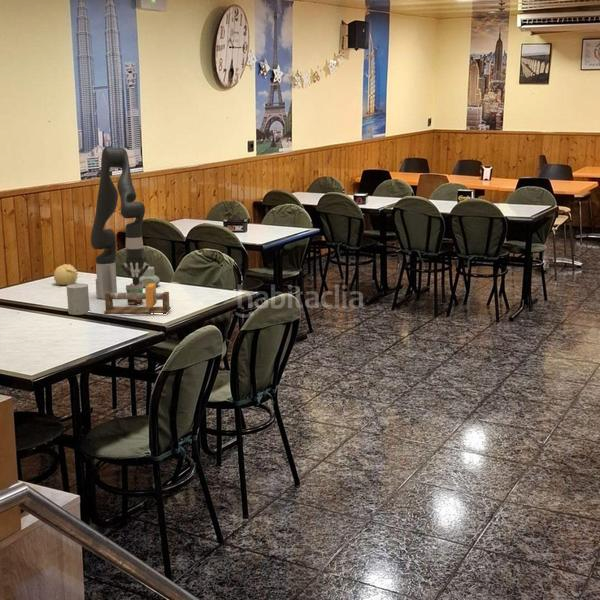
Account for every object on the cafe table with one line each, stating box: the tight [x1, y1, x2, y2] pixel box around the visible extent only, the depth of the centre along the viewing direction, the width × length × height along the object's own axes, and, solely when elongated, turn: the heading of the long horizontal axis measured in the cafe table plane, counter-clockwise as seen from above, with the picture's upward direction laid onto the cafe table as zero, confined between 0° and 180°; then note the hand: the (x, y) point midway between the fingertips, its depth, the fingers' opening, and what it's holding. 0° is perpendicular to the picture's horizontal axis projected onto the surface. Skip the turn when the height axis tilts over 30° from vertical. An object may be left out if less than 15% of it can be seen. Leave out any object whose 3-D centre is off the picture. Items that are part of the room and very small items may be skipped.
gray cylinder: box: [65, 283, 91, 316], centre depth 389 cm, size 10×10×12 cm
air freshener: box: [139, 266, 161, 288], centre depth 442 cm, size 11×8×10 cm
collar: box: [144, 284, 157, 307], centre depth 387 cm, size 3×8×9 cm, turn 177°
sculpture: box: [53, 263, 78, 286], centre depth 449 cm, size 11×12×11 cm
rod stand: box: [103, 291, 172, 314], centre depth 388 cm, size 28×10×9 cm, turn 87°
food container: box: [125, 281, 145, 306], centre depth 405 cm, size 12×6×10 cm, turn 168°
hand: (136, 284), depth 386 cm, fingers closed
